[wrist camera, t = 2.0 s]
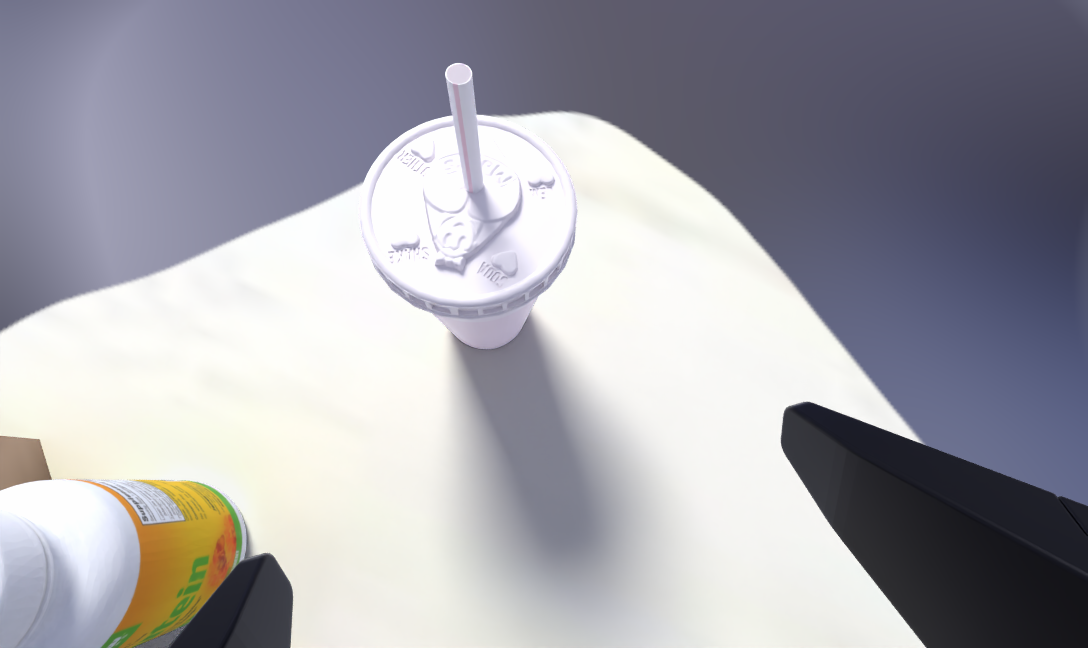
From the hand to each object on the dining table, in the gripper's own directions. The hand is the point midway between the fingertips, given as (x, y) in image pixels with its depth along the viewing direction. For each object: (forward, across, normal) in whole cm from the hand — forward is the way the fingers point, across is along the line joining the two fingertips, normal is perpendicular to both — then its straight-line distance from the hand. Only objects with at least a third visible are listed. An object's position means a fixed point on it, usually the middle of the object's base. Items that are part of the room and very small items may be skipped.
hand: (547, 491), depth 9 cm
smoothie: (+15, 0, +4) cm, 16 cm away
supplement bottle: (+11, +14, +9) cm, 20 cm away
